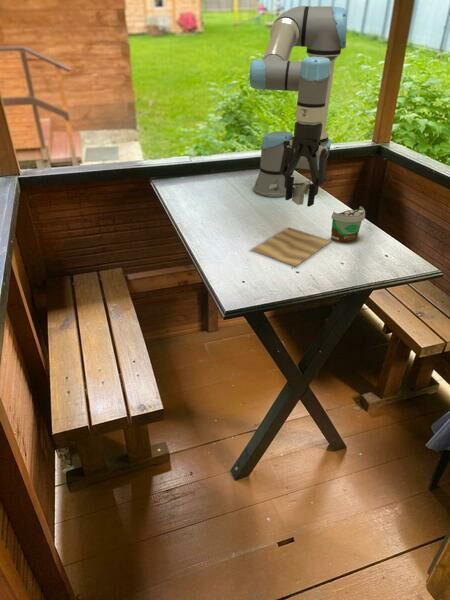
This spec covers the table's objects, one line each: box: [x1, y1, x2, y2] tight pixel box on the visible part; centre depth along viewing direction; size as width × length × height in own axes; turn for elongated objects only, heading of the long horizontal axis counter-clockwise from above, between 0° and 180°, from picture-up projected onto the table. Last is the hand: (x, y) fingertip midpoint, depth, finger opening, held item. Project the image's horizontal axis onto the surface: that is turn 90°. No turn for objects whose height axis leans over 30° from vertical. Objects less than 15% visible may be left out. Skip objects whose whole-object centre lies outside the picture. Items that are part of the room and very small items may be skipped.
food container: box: [330, 206, 366, 244], centre depth 145 cm, size 12×6×10 cm, turn 117°
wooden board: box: [251, 227, 331, 268], centre depth 143 cm, size 22×16×1 cm
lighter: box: [291, 180, 312, 206], centre depth 132 cm, size 7×2×8 cm, turn 23°
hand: (299, 201), depth 134 cm, fingers closed on lighter, 7 cm apart
